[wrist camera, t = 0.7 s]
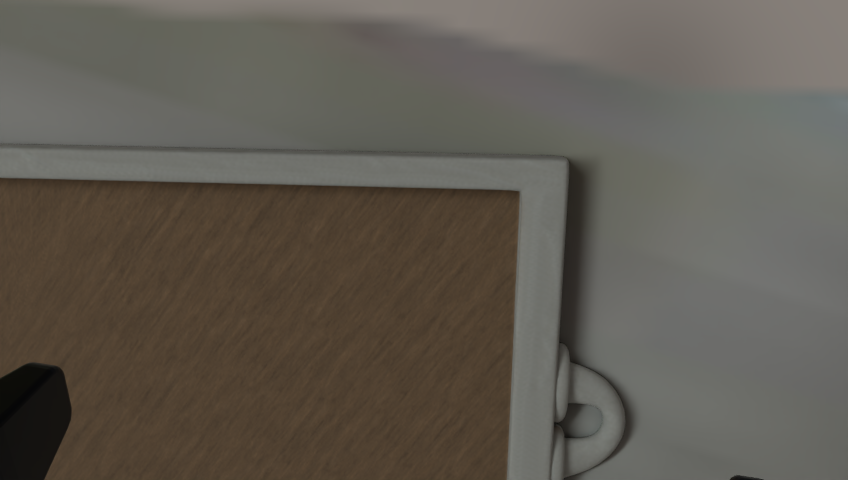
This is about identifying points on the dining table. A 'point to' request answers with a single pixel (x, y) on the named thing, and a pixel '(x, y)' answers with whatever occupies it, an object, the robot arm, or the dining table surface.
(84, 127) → the dining table surface
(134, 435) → the picture frame
